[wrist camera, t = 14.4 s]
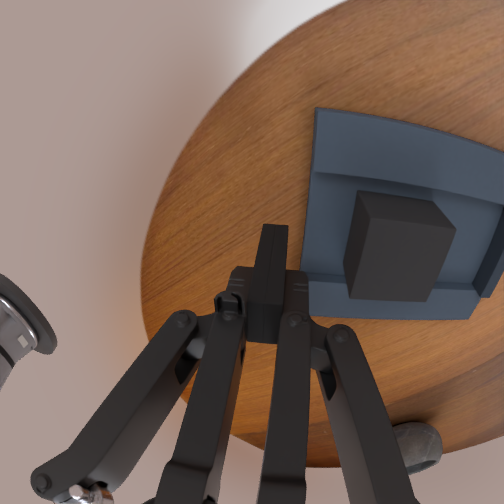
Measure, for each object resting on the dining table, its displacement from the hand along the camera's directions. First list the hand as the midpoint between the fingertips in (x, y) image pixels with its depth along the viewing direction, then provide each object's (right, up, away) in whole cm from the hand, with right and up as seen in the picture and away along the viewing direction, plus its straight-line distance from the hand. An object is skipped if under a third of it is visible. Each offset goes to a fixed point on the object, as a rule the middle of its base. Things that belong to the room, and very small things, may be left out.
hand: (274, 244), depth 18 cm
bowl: (+28, -34, +24) cm, 50 cm away
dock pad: (+11, +1, +2) cm, 12 cm away
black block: (+8, +1, +2) cm, 9 cm away
